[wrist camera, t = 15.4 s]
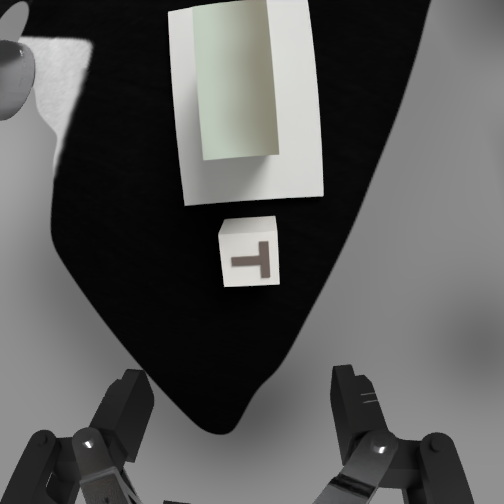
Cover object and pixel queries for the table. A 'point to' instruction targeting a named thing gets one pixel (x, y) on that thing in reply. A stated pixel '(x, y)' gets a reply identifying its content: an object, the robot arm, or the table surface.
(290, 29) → the mat
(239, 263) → the letter cube
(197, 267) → the table surface
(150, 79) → the table surface
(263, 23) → the pale green rectangular block
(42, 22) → the table surface
